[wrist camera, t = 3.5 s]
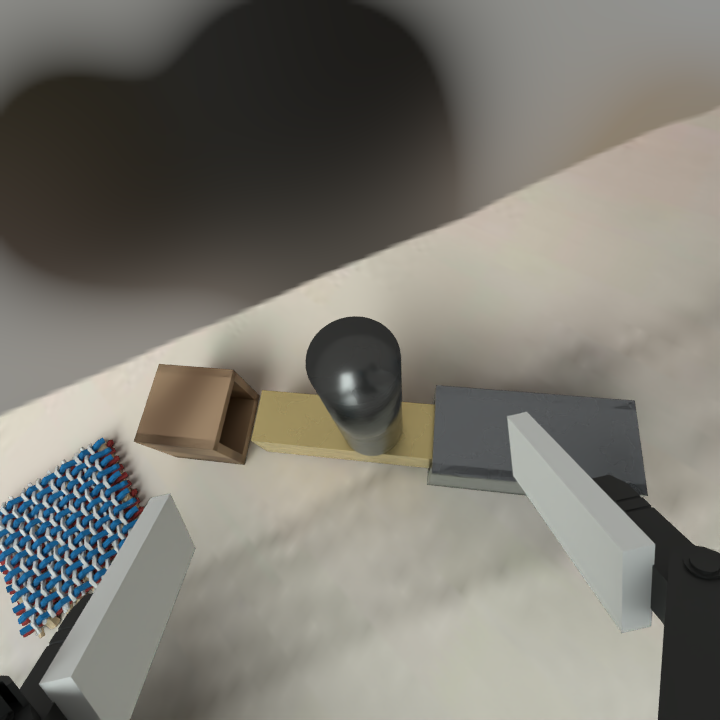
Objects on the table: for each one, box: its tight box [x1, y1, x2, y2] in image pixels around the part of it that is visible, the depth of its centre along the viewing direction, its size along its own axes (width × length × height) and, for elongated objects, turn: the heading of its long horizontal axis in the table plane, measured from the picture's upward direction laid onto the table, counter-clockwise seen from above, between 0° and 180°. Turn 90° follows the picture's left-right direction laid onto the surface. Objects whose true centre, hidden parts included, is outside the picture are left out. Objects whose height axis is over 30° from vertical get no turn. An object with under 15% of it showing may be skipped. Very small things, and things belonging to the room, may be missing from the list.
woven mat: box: [0, 438, 144, 638], centre depth 31 cm, size 10×11×2 cm
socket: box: [134, 364, 259, 465], centre depth 31 cm, size 6×6×6 cm
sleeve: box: [427, 385, 648, 497], centre depth 28 cm, size 12×6×6 cm, turn 83°
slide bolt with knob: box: [251, 317, 435, 468], centre depth 24 cm, size 23×4×15 cm, turn 83°
